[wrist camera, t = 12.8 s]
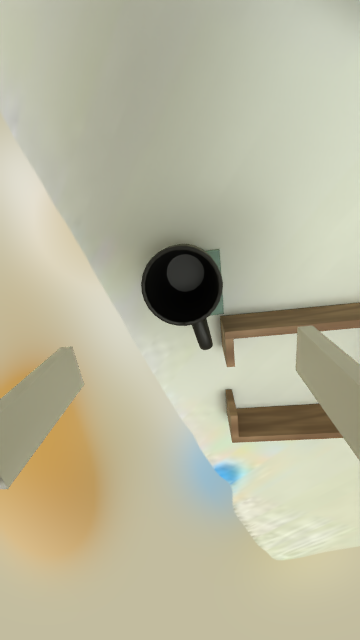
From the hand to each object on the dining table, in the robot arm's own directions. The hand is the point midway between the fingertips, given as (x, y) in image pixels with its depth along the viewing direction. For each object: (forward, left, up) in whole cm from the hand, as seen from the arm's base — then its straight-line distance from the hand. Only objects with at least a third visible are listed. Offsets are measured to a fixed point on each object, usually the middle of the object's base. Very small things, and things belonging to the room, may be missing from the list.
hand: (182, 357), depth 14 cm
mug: (0, 0, -21) cm, 21 cm away
